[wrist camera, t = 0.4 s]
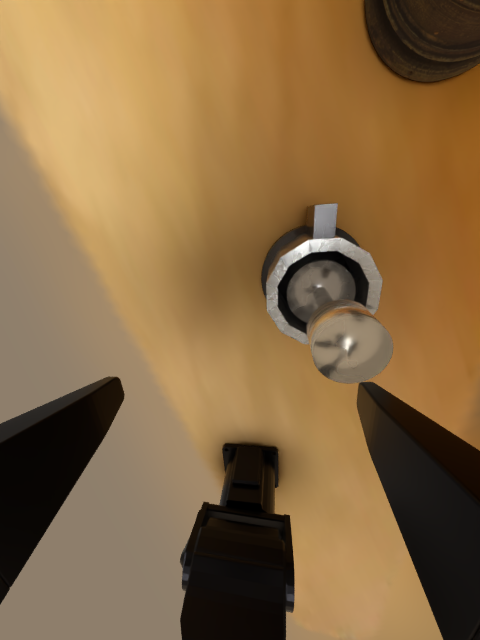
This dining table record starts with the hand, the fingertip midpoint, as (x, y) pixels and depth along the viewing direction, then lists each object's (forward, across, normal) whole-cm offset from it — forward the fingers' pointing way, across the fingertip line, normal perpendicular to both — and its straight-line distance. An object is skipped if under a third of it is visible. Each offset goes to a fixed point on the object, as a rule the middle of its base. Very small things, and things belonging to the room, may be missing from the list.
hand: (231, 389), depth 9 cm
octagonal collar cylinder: (+13, -4, -1) cm, 14 cm away
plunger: (+9, -4, -1) cm, 10 cm away
